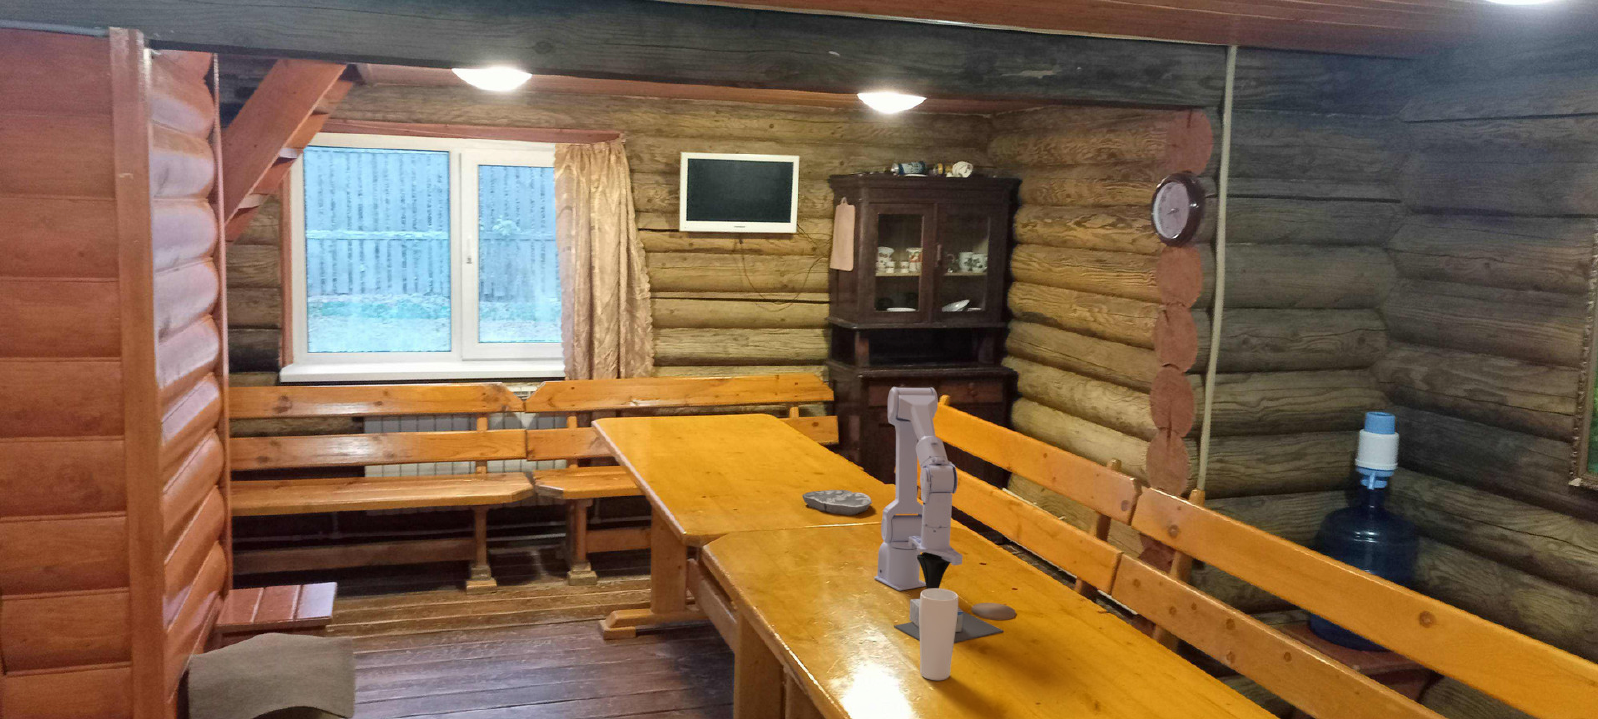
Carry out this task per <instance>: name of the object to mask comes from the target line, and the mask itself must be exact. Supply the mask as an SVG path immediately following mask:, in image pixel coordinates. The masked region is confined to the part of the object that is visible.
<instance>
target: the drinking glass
mask: <svg viewBox="0 0 1598 719" xmlns="http://www.w3.org/2000/svg"><path fill="white" fill-rule="evenodd" d="M919 595H920V596H919V599H920V604H919V633H920V641H919V656H920V659H919V660H920V662H919V672H920V676H922V677H923V678H925V679H927V680H931V681H938V682H939V681H944V680H947V679H948V678H949V677H950V675H951V669H952V668H951V667H952V666H951V665H952V657H953V653H954V652H953V650H954V644H955V643H954V638H955V631H956V624H957V616H958V607H959V595H958V594H957V593H956V592H955V591H952V590H950V589H947V588H940V587H939V588H932V589H927V588H926V589H923V590H922V591H921V592H920V594H919Z"/></svg>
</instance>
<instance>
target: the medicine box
mask: <svg viewBox="0 0 1598 719" xmlns="http://www.w3.org/2000/svg"><path fill="white" fill-rule="evenodd" d="M919 604H920V598H913V599H909V618H908V620H909V621H910V622H913V623H914V624H915V625H916V626H917V627H918V628H919ZM962 619H963V610H962V609H961V608H960V607H959V606H958V616H957V624H956V631H955V632H962Z"/></svg>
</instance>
